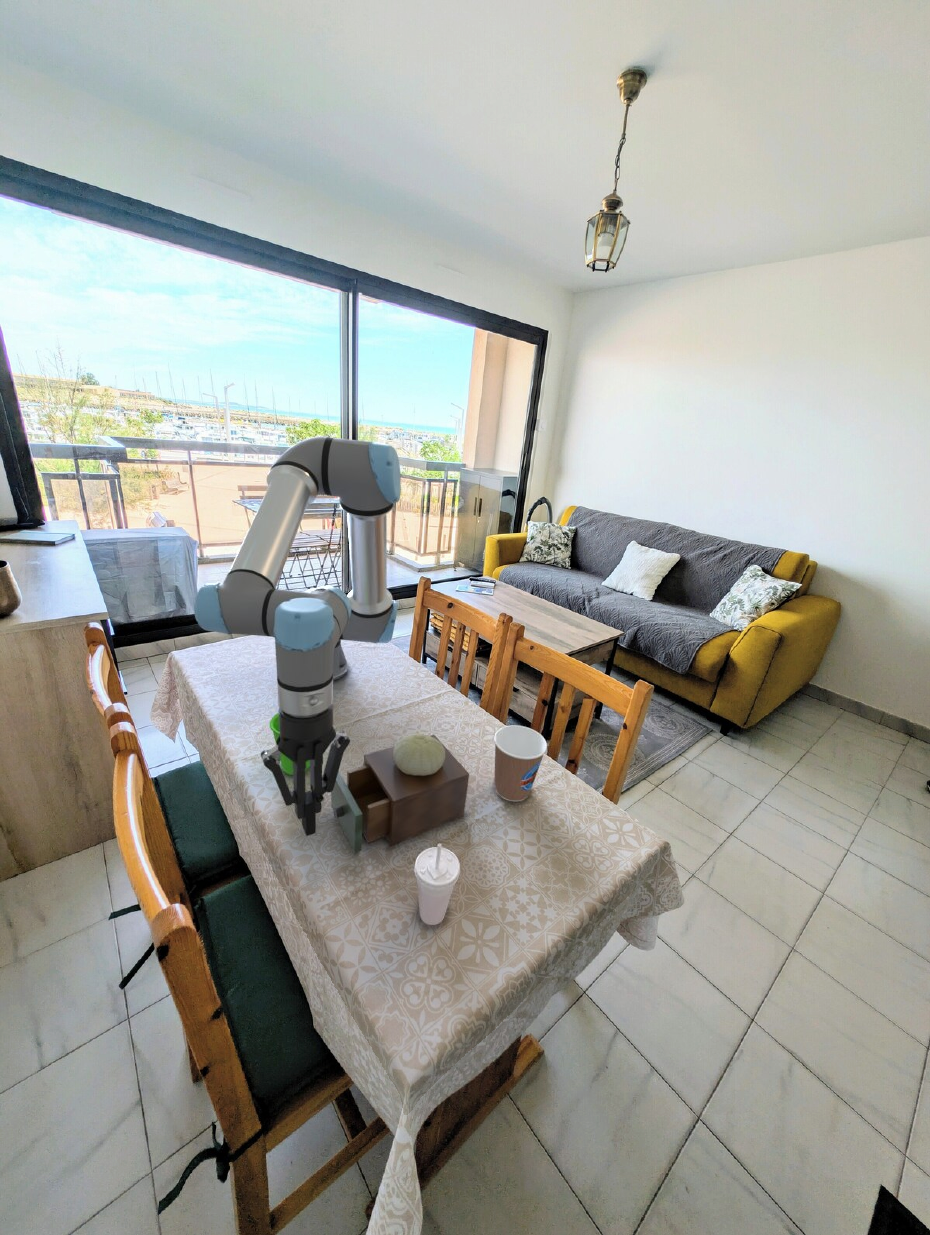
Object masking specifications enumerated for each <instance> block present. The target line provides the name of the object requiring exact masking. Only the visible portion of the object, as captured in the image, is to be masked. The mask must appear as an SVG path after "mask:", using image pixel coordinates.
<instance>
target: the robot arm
mask: <svg viewBox="0 0 930 1235" xmlns="http://www.w3.org/2000/svg"><path fill="white" fill-rule="evenodd" d="M401 475H402V474H401V466H400V460H399V456H398V452H397V450H396V449H395V447H393V446H392V445H391V444H387V443H381V442H377V441H374V440H371V441H367V440H357V439H349V438H339V437H330V436H324V435H323V436H322V435H320V436H312V437H309V438H306V439H305V438H304V439H302V440H300V441H299V442H297V443H295V444H294V445H292V446H290V447H289V448H287V449H286V450H285V451H284V452H283V453H282V454H280V455H279V456H278V457H277V459H276V460H275V461H274V462H273V464H272V465H271V467H270V468H269V471H268V473H267V476H266V486H267V489H266V491H265V493H264V496H263V498H262V500H261V502H260V504H259V506H258V509H257V511H256V513H255V515H254V517H253V519H252V521H251V523H250V525H249V528H248V530H247V532H246V535H245V537H244V539H243V540H242V543H241V545H240V547H239V549H238V551H237V554H236V556H235V558H234V560H233V562H232V564H231V567H230V569H229V571H228V573H227V574H226V577H225V578H224V580H223V582H222V583H221V582H212V583H211V582H209V583H205V584H204V585H203V586H201V587H200V588H199V589H198V591H197V593H196V595H195V599H194V604H193V605H194V606H193V611H194V619H195V620H196V622H197V624H198V626H199V627H200V628H202V630H204V631H208V632H214V633H219V634H226V635H230V636H231V635H245V636H257V637H268V638H269V637H270V638H274V643H275V644H274V645H275V664H276V665H275V666H276V684H277V686H276V687H277V706H278V713H279V737H278V739H277V741H276V742H275V745H274V746H273V747H272V748H271V749H270V750H268V749H264V750H262V751H261V752H260V757H261V760H262V763H263V765H264V767H265V768H267V769H268V770H269V771H270V772H271V773H272V775H273V777H274V780H275V782H276V784H277V787H278V790H279V792H280V795H281V797H282V799H283V802H284V804H285V806H287V807H289V806H292V805H293V804H294V813H295V815H296V818H297V819H298V820H301V826H302V829H303V831H304V834H305V836H306V837H309V836H311V835H314V834H316V833H317V825H316V824H317V818H316V814H318V813H321V812H322V809H323V808H322V802H323V801H324V799H325V798H324V796H323V795H325V794H326V793H330V794H331V792H332V791H333V789H334V785H335V782H336V778H337V775H338V771H339V772H340V767H341V764H342V761H343V757H344V752H345V751H346V750H347V748H348V747H349V746H350V744H351V739H350V737H349V736H348V734H347V732H346V731H345V730H344V729H343V730H339V731H337V730H335V728H334V705H333V703H334V681H337V680H339V679H341V678H342V677H344V676H345V675H346V674H347V672H348V662H347V658H346V655H345V652H344V650H343V647H342V641H350V642H360V643H369V644H370V643H371V644H387V643H390V642H391V641H392V639H393V634H394V629H395V624H396V619H397V616H398V615H397V614H398V610H399V602H398V601H396V600H395V599H394V598H393V595H392V593H391V592H390V591H389V589H387V588H388V586H387V585H388V583H387V582H388V581H387V577H388V576H387V575H388V574H387V572H388V571H387V569H388V568H387V567H388V566H387V563H388V562H387V560H388V558H387V557H388V556H387V551H388V550H387V549H388V548H387V539H388V538H387V537H388V536H387V534H388V532H387V521H388V520H387V514H389V513H390V512H392V510H393V509H394V504H395V503H398V502H399V501H400V499H401V495H402V494H401V493H402V484H401V481H402V477H401ZM317 496H326V497H327V496H329V497H338V501H339V507H340V509H341V510H342V511H343V512H345V513H346V514H347V528H348V542H349V544H348V545H349V559H350V575H351V591H350V592H349V593H348V594H346V593H345V592H344V591H343V590H342V589H340V588H339V587H336V586H333V585H322V586H318V587H316V588H310V589H308V590H304V591H302V590H291V589H278V588H277V586H278V583H279V581H280V578H281V575H282V573H283V570H284V567H285V565H286V562H287V560H288V557H289V554H290V552H291V550H292V547H293V544H294V542H295V538H296V536H297V534H298V531H299V528H300V525H301V523H302V521H303V518H304V516H305V513H306V510H307V508H308V506H309V505H311V504H313V503H314V502H315V500H316V498H317ZM329 746H330V747H329ZM328 748H329V751H328V754H327V758H326V762H325V766H324V770H323V764H324V754H325V752H326V751H327V750H328ZM281 753H282V754H284V755H285V756H286V757H287V758H289V759H290V760H291V761H293V775H292V784H293V785H292V786H293V789H292V790H290V788H289V786H288V783H287V780H286V778H285V775H284V773H283V769H282V767H281V758H280V754H281ZM308 760H310V765H309V788H310V790H306V771H305V769H306V761H308Z"/></svg>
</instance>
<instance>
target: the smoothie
mask: <svg viewBox="0 0 930 1235" xmlns="http://www.w3.org/2000/svg"><path fill="white" fill-rule="evenodd" d="M442 846H443V844H442V843H438V844H437V846H433V847H429V848H426V849H425V850H423V851H421V852H420V853H419V854H418V856H417V857H416V859H415V864H414V876H415V878H416V881H417V894H418V896H417V897H418V909H419V917H420V919H421V920H422V922H423V923H425V924H426V925H428V926H429V925H430V926H436V925H439V924H441V922H442V921H443V920H444V918H445V915H446V912H447V909H448V906H449V903H450V899H451V897H452V893H453V890H454V887H455V884H456V883H457V881H458V880H459V878H460V872H461V864H460V860H459V858H458V857H457V855H456V854H455V853H454V852H452V851H451V850H449V849H448V848H446V847H442Z"/></svg>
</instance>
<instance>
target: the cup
mask: <svg viewBox="0 0 930 1235" xmlns="http://www.w3.org/2000/svg"><path fill="white" fill-rule="evenodd" d="M269 728H270V730H271V731H272V734H273V738H274V742H275V743H276V741H277V739H278V737H279V712H278V713H276V714H275V715H273V717H272V718H271V719H270V721H269ZM280 758H281V761H280V766H281V769H282V771H283V772H284V773H286V774H287V775H290V776H293V761H291V760H290V759H289V758H287V757H286V756H285V755H284V754H282V753H281V754H280ZM309 768H310V760H308V761H306V769H305V772H307V770H308V769H309Z"/></svg>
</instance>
